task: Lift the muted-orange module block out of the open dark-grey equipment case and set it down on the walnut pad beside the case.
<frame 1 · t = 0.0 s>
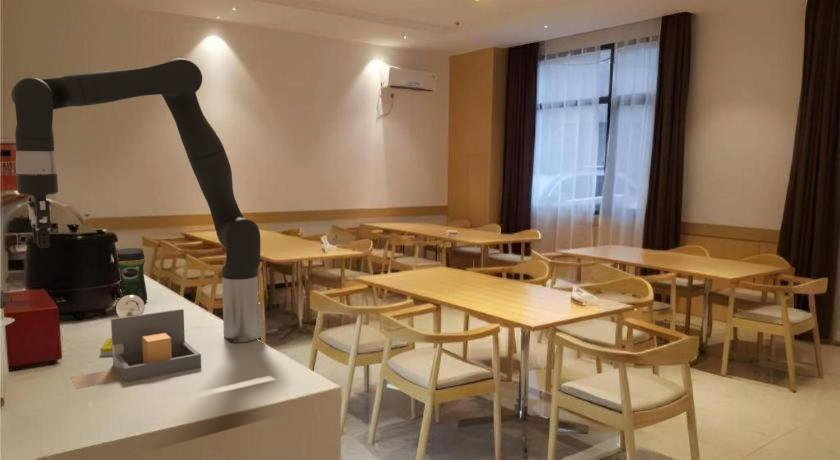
hand: (41, 245, 132), 29 cm above the counter, tool pointing down, fingers open, 8 cm apart
case: (157, 370, 138), on the counter
emergency button: (130, 354, 151), on the counter
coffee jar: (131, 303, 200), on the counter
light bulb: (132, 338, 162), on the counter
pad: (94, 383, 130), on the counter
module: (157, 366, 138), point 1 cm above the counter, touching case
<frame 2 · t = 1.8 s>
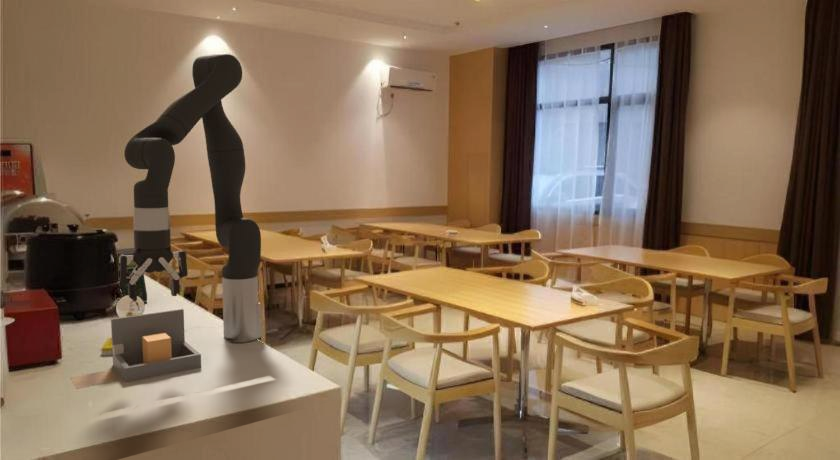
hand: (154, 297, 136), 17 cm above the counter, tool pointing down, fingers open, 8 cm apart
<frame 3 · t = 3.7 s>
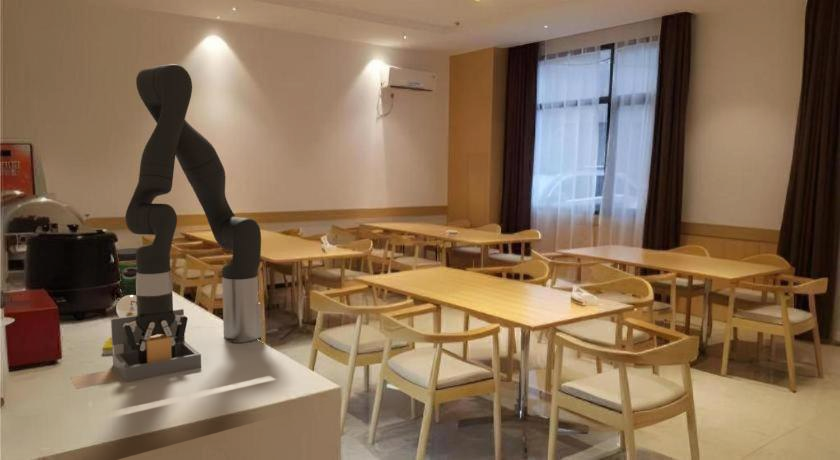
hand: (157, 362, 138), 2 cm above the counter, tool pointing down, fingers closed on module, 5 cm apart
module: (157, 366, 138), point 1 cm above the counter, touching case, gripper
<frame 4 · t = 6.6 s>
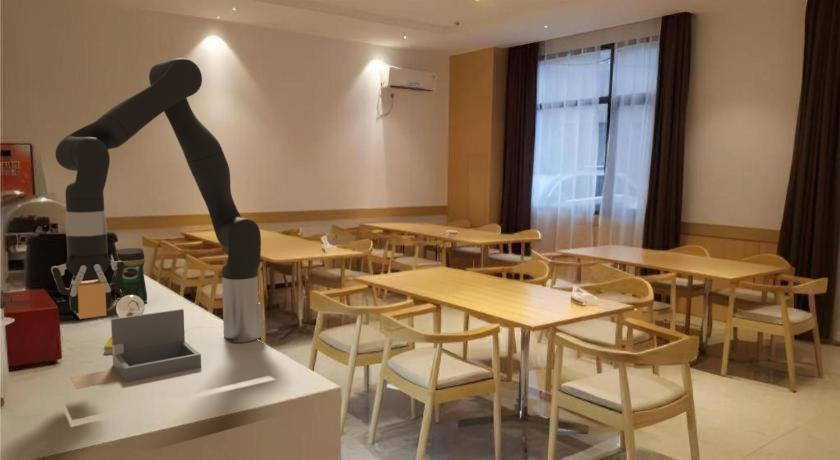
hand: (90, 310, 128), 16 cm above the counter, tool pointing down, fingers closed on module, 5 cm apart
module: (91, 314, 128), point 15 cm above the counter, touching gripper
when the fingers open (3 cm above the counter, at t = 9.6 s): module drops 1 cm, resting on pad.
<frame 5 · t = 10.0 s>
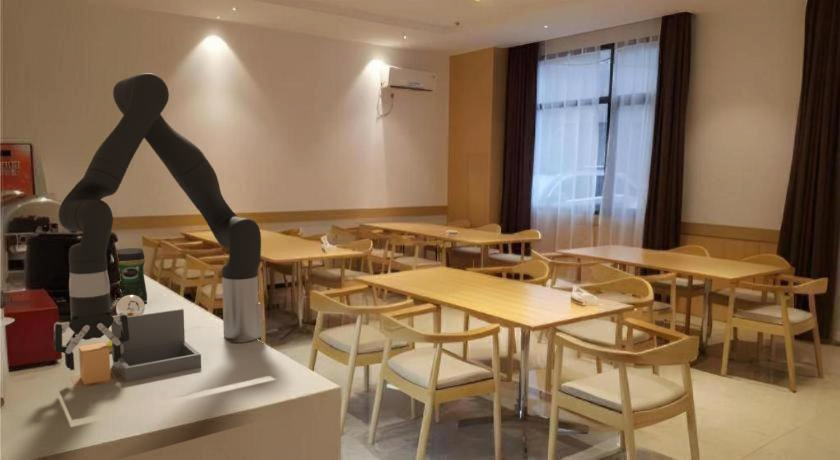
hand: (93, 365, 129), 4 cm above the counter, tool pointing down, fingers open, 8 cm apart
module: (95, 378, 130), point 1 cm above the counter, touching pad
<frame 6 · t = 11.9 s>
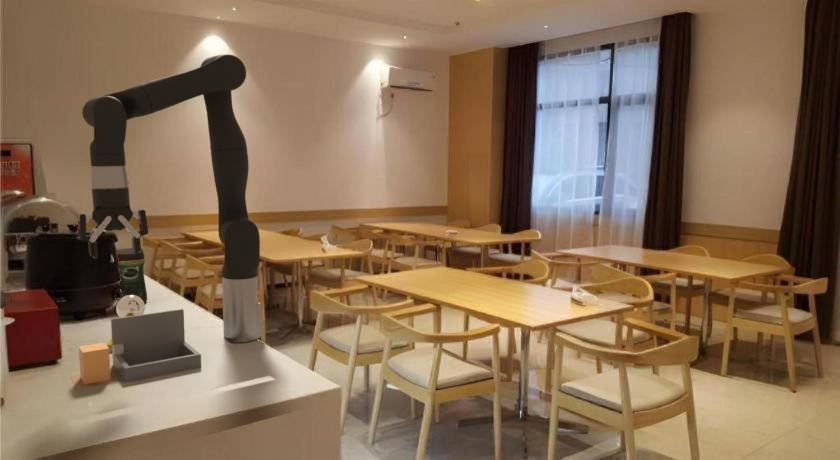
hand: (115, 256, 138), 26 cm above the counter, tool pointing down, fingers open, 8 cm apart
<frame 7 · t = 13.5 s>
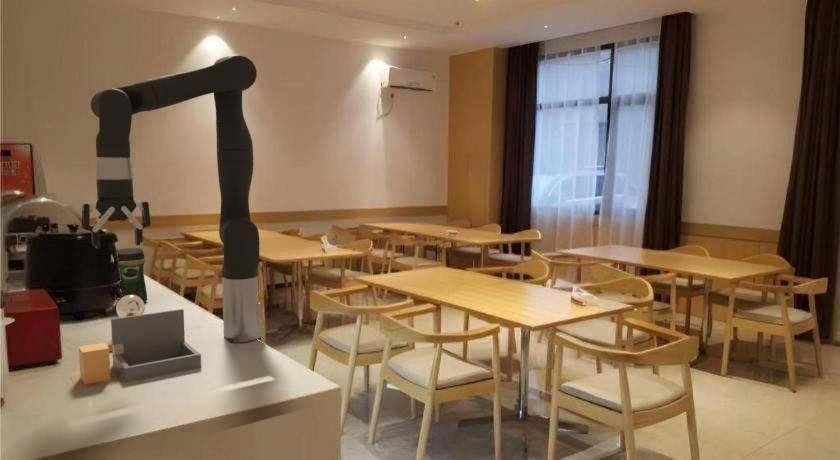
hand: (118, 246, 140), 28 cm above the counter, tool pointing down, fingers open, 8 cm apart
at the end: module inside the target area on the pad (0.2 cm from its centre), point 1.0 cm above the pad's base; module tilted 0°; the gripper is holding nothing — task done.
